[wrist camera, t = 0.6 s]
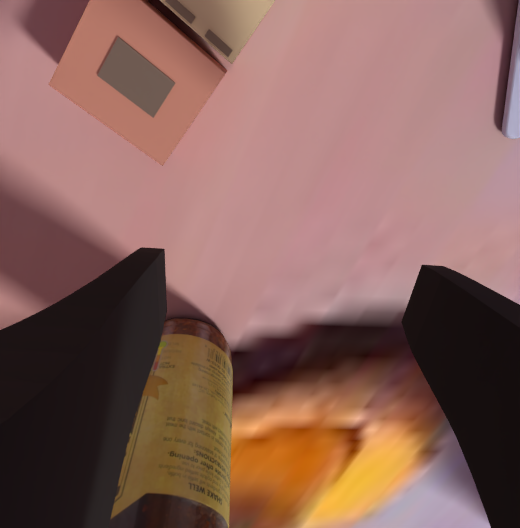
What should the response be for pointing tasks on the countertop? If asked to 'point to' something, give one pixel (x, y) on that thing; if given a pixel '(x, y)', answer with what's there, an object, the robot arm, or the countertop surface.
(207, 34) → the slotted cream box
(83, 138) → the countertop surface
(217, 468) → the sauce bottle
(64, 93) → the pink block
